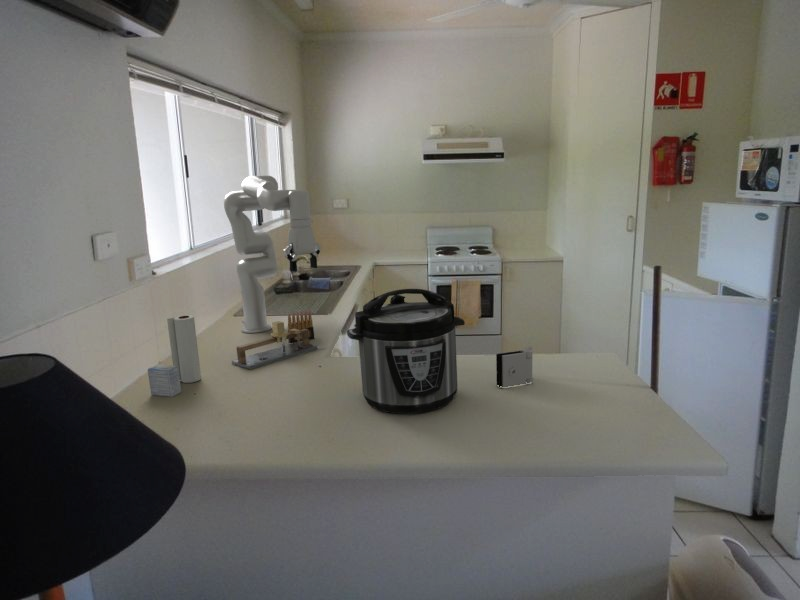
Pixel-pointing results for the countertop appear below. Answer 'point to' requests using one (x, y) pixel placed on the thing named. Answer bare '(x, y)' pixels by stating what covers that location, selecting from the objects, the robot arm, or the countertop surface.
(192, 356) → the paper towel roll
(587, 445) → the countertop surface
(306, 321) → the ammunition clip
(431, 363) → the pressure cooker
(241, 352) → the bar
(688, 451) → the countertop surface
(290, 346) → the bolt-hole plate
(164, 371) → the pale blue-grey upright block
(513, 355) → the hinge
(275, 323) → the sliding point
